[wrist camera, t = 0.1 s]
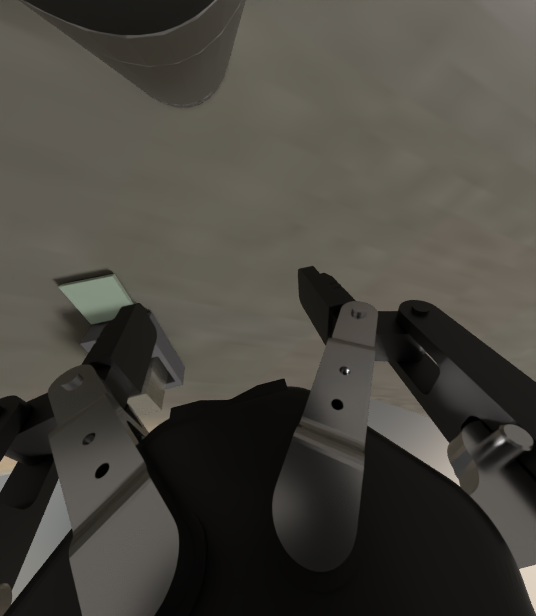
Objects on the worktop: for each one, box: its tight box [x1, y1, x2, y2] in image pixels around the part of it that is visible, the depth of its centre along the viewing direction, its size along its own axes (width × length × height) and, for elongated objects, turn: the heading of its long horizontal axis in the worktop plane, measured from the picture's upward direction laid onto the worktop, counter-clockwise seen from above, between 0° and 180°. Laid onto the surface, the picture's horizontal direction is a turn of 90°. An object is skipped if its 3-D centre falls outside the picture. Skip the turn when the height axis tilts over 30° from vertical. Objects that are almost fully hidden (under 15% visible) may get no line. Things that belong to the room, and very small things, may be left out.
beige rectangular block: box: [127, 356, 168, 416], centre depth 32 cm, size 4×4×8 cm
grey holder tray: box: [80, 312, 185, 389], centre depth 33 cm, size 13×8×4 cm, turn 6°
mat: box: [59, 274, 134, 324], centre depth 27 cm, size 6×6×1 cm
